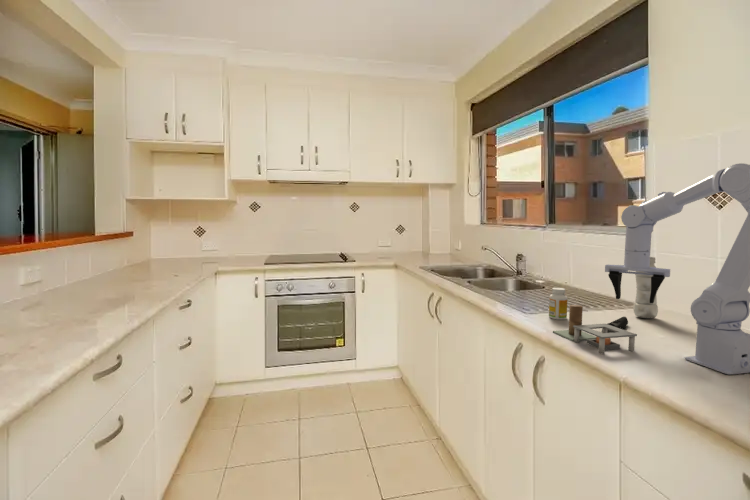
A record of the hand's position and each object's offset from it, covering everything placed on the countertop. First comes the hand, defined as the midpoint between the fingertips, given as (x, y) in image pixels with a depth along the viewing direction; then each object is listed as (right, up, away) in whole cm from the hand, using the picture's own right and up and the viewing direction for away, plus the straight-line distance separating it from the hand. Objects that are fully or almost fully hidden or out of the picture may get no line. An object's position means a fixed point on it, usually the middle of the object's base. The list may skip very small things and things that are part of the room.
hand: (634, 300), depth 105 cm
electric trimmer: (0, -10, +9) cm, 14 cm away
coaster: (-15, -10, +3) cm, 18 cm away
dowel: (-15, -10, +3) cm, 18 cm away
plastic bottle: (+18, -9, +22) cm, 30 cm away
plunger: (-12, -12, -6) cm, 18 cm away
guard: (-12, -11, -6) cm, 17 cm away
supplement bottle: (-11, -9, +22) cm, 26 cm away
